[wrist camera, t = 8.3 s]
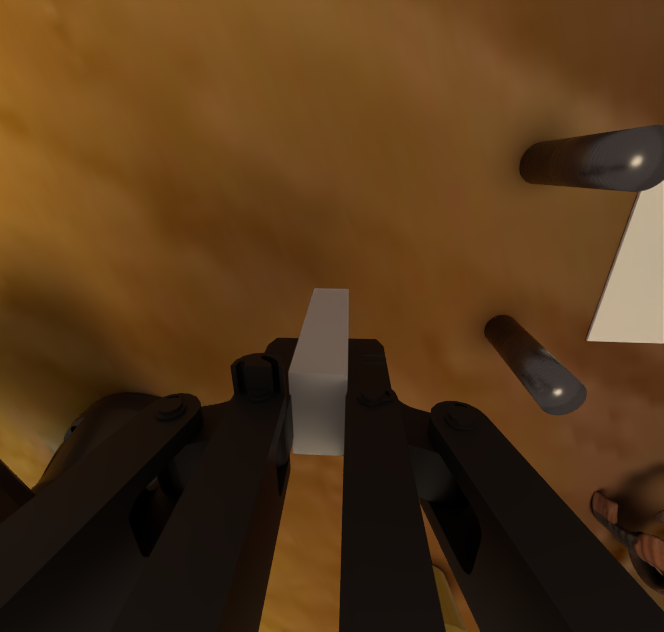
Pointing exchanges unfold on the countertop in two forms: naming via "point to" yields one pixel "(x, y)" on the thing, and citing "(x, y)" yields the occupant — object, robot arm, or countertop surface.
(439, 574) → the plant pot
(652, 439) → the countertop surface
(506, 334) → the post
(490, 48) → the countertop surface
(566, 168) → the post
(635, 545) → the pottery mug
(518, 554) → the robot arm
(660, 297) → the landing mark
